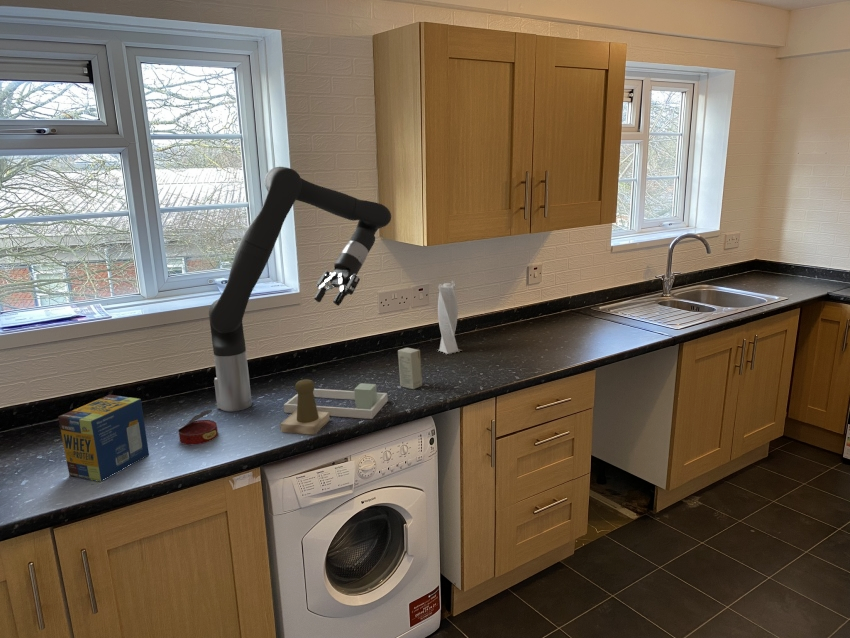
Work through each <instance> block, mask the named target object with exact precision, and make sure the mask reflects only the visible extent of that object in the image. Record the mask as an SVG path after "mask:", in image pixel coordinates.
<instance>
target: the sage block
mask: <svg viewBox="0 0 850 638" xmlns="http://www.w3.org/2000/svg"><path fill="white" fill-rule="evenodd" d="M353 391H354V393H355V400H354V404H355V405H354V406H355V407H354V408H355V409H369V410H370V409H371V408H372V407H373V406H374V405H375V404H376V403H377V393H378V391H377V384H376V383H365V382H364V383H362V382H361V383H359V384H358V385H357V386H356V387H355V388H354V390H353Z"/></svg>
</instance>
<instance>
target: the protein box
mask: <svg viewBox="0 0 850 638" xmlns="http://www.w3.org/2000/svg"><path fill="white" fill-rule="evenodd" d="M142 404H143V403H142V399H141V398H137V397H129V396H121V395H114V394H108V395H106V396H103V397H101V398H98V399H96V400H93V401H91V402H89V403H87V404H84V405H82V406H80V407H78V408H74V409H73V410H70V411H68V412H66V413H63V414H61V415H58V416H57V417H58V422H59V428H60V433H61V439H62V445H63V448H64V454H65V459H66V467H67V470H68V476H70V477H73V476H75V477H74V478H78V477H80V478H79V479H83V478H85V479H84V480H88V479H91V480H90V481H93V480H97V481H96V482H98V481H102V480H103V479H105V478H107V477H109V476H110V475H112V474H114V473H116V472H118V471H120V470H121V471H123V470H124V469H123V468H125V467H127V466H128V465H130V464H132V463H134V462H136V461H137V462H139V461H140V459H141V460H142V458H143V457H144V458H146V457H148V456H149V455H150V452H149V446H148V445H149V444H148V440H147V439H148V438H147V432H146V431H147V430H146V425H145V419H144V414H143V411H144V410H143V406H142ZM147 455H148V456H147ZM145 456H146V457H145ZM144 458H143V459H144ZM138 460H139V461H138ZM137 462H136V463H137ZM134 464H135V463H134ZM132 465H133V464H132ZM130 466H131V465H130ZM128 467H129V466H128ZM128 467H127V468H128ZM122 469H123V470H122ZM125 469H126V468H125ZM121 471H120V472H121ZM118 473H119V472H118ZM116 474H117V473H116ZM114 475H115V474H114ZM109 478H110V477H109ZM107 479H108V478H107ZM105 480H106V479H105ZM102 482H103V481H102Z"/></svg>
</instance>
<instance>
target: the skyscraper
mask: <svg viewBox="0 0 850 638" xmlns="http://www.w3.org/2000/svg"><path fill="white" fill-rule="evenodd" d="M455 287H456V281H455V279H452V280H451V282H445V283H443V284H442V283H439V284H438V290H439V292H438V299H437V300H438V301H437V318H438V324H439V330H440V334H441V337H440V344H439V349H437V350H438V351H437V352H439V351H440V352H439V353H441V352H443V353H442V354H444V353H445V354H444V355H447V354H449V355H453V354H452V353H454V354H456V352H458V353H461V352H460V351H462V352H463V349H460V348H458V344H457V340H456V337H455V334H456V328H457V324H458V317H459V316H458V312H459V311H458V301H457V297H456V292H455Z"/></svg>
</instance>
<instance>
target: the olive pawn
mask: <svg viewBox="0 0 850 638" xmlns="http://www.w3.org/2000/svg"><path fill="white" fill-rule="evenodd" d="M294 387H295V388H294V389H295V392H296V393H297V394H298V403H297V421H298V422H302V423H308V422H313V421H316V420H317V419H318V418H319V416H318V412H317V407H316V406H317V403H316V399H315V398H316V397H314V394H313V391H314V389H316V388H315V383H314V381H313V380H311V379H307V378H306V379H301V380H298V381H297V382H296V383H295V386H294Z"/></svg>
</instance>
